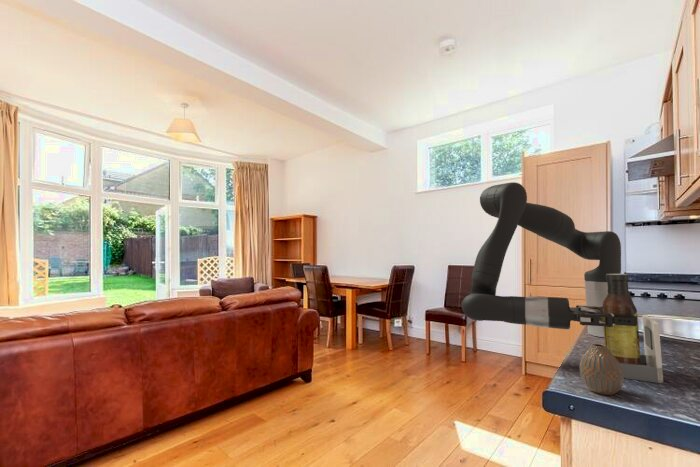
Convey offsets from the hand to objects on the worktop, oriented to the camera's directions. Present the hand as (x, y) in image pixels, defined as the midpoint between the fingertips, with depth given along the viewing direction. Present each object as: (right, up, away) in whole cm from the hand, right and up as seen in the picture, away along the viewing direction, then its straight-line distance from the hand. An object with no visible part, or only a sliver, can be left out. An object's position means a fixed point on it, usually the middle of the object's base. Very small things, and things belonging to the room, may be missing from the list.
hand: (633, 318), depth 75 cm
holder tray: (-2, -12, 0) cm, 12 cm away
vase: (-14, -12, -10) cm, 21 cm away
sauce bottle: (-2, -10, +1) cm, 10 cm away
